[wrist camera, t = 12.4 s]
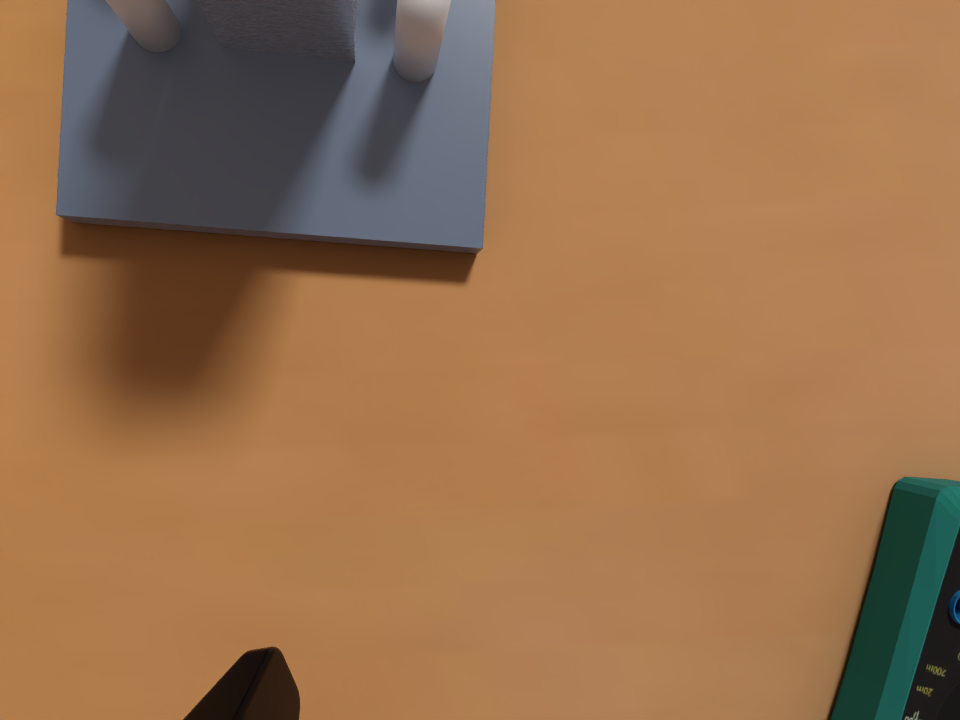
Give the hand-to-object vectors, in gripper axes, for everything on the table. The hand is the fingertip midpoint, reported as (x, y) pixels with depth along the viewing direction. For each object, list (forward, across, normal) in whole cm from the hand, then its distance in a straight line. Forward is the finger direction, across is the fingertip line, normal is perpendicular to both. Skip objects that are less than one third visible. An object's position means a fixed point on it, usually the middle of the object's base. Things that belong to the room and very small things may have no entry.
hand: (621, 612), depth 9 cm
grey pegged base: (+15, +5, -9) cm, 19 cm away
